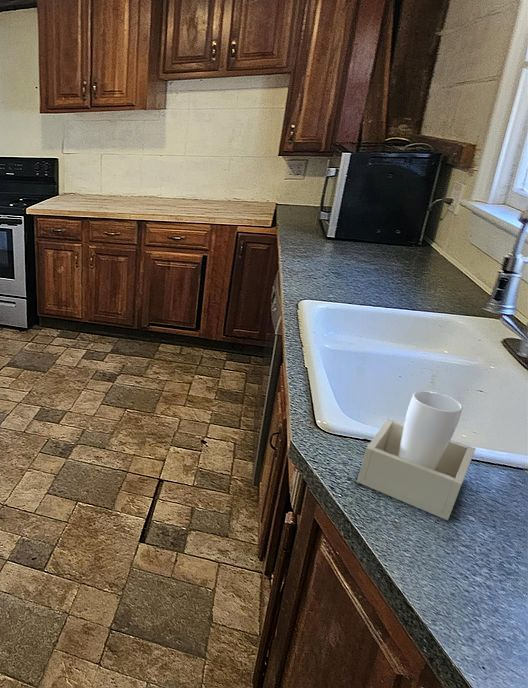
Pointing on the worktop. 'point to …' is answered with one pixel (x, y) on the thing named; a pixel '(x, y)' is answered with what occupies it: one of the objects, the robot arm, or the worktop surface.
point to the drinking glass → (428, 428)
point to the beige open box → (414, 472)
